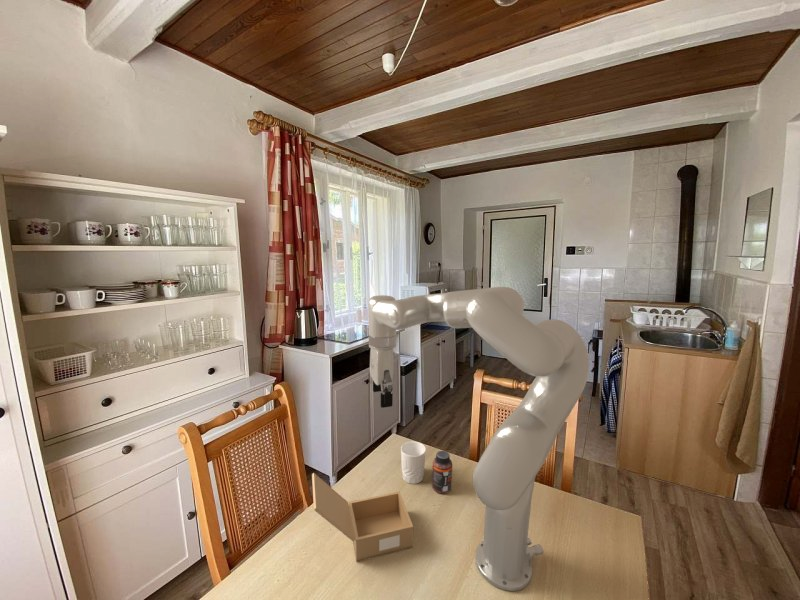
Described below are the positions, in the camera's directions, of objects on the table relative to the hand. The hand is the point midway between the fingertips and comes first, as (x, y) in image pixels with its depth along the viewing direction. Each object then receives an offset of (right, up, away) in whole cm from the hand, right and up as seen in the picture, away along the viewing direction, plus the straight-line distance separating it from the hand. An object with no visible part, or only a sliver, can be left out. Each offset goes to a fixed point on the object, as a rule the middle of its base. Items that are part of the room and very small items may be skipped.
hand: (382, 398), depth 96 cm
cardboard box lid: (-11, -22, -14) cm, 28 cm away
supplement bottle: (+18, -30, +8) cm, 36 cm away
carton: (0, -32, -9) cm, 34 cm away
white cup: (+9, -29, +12) cm, 33 cm away
